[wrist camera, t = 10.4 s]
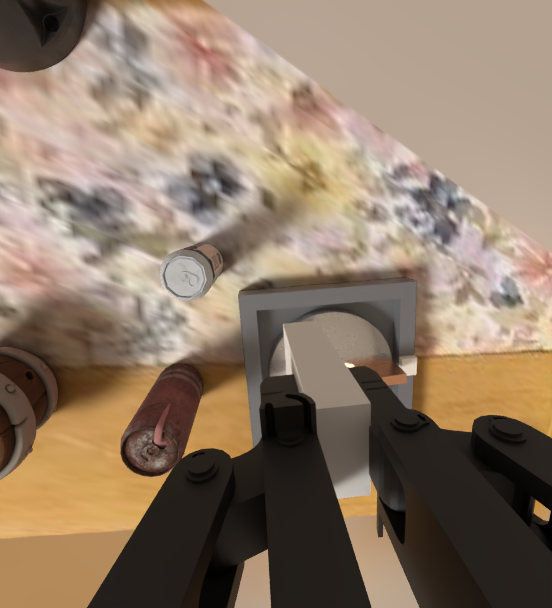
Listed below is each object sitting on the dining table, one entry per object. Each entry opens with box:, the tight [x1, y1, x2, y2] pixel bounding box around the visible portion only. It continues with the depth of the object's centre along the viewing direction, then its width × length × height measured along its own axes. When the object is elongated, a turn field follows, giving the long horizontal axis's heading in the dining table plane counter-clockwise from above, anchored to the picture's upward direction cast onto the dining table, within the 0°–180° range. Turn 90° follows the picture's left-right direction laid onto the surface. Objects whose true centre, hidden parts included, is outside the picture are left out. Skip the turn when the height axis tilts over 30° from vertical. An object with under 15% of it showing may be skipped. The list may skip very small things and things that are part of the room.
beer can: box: [160, 243, 223, 301], centre depth 34 cm, size 5×5×12 cm
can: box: [120, 364, 204, 477], centre depth 37 cm, size 6×6×14 cm
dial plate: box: [238, 278, 417, 448], centre depth 43 cm, size 22×22×4 cm
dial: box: [269, 309, 407, 386], centre depth 40 cm, size 16×16×6 cm
